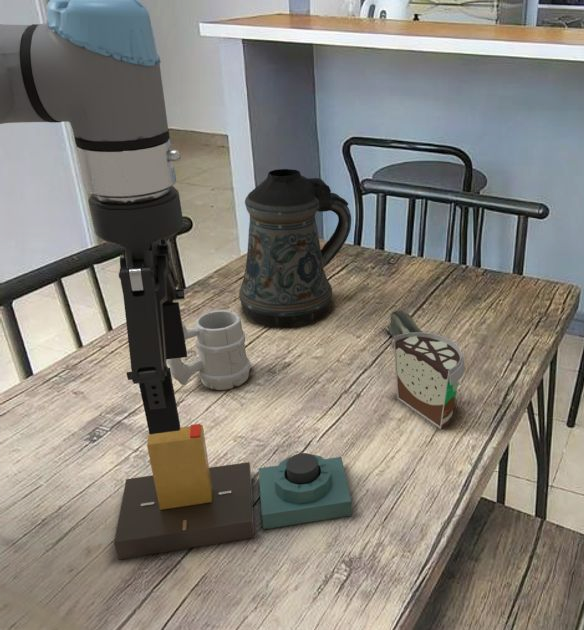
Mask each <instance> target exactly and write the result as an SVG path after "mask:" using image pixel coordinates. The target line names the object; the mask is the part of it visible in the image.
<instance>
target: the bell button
mask: <svg viewBox="0 0 584 630" xmlns="http://www.w3.org/2000/svg"><path fill="white" fill-rule="evenodd" d="M293 455H294V456H293ZM293 455H291V456H292V457H291V456H289V457H290V458H289V457H288V458H289V459H288V458H287V459H288V461H287V463H286V468H287V478H288V480H289V481H290V482H292V483H294V484H298V485H303V484H309V483H311V482H313V481H315V480H316V478H317V477H318V474H319V471H318V460H317V458H316V457H315V456H314V455H315V454H311V453H308V452H299V453H296V454H293Z"/></svg>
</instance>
